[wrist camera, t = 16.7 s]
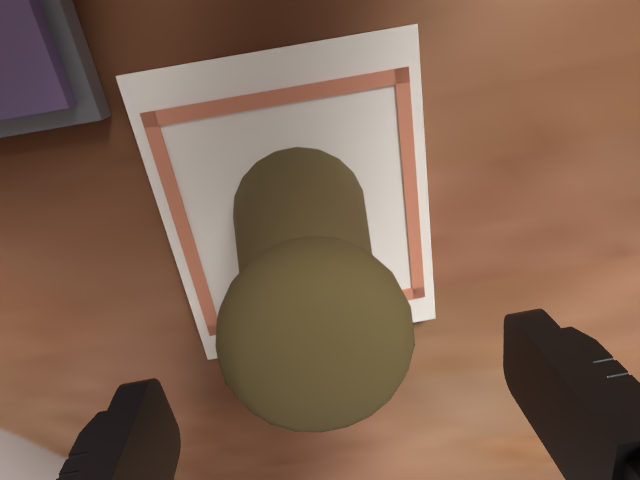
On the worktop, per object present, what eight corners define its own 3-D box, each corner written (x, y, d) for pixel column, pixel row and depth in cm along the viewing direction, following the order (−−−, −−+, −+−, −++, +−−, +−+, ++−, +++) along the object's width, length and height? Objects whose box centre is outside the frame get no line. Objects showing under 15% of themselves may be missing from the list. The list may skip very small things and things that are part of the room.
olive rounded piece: (225, 149, 19) (166, 270, 9) (366, 143, 19) (462, 252, 9) (239, 275, 21) (204, 481, 11) (364, 268, 22) (438, 460, 12)
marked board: (123, 74, 18) (114, 76, 17) (410, 24, 19) (418, 24, 18) (210, 347, 24) (207, 361, 23) (429, 308, 24) (436, 319, 23)
